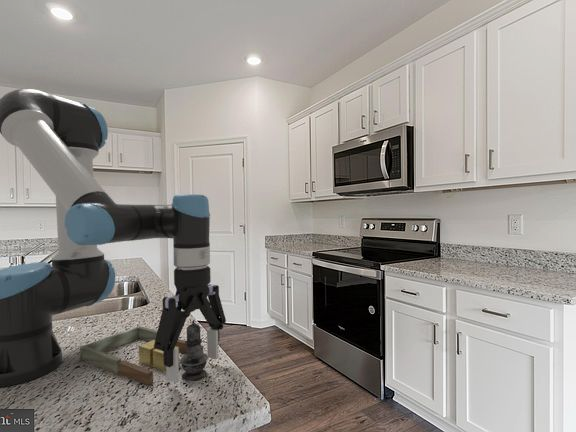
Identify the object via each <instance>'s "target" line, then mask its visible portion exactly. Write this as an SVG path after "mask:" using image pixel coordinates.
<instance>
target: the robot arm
mask: <svg viewBox="0 0 576 432" xmlns="http://www.w3.org/2000/svg"><path fill="white" fill-rule="evenodd" d="M108 129H109V128H108V124H107V120H106V119H105V117H104V116H103V114H102V113H101V112H100V111H99V110H98V109H97V108H94V107H93V106H90V105H87V104H86V103H83V102H81V101H75V100H71V99H68V98H65V97H61V96H58V95H54V94H52V93H47V92H44V91H42V90H38V89H35V88H34V89H33V88H20V89H15V90H12V91H9V92H7V93H6V94H4V95H3V96H2V97H1V98H0V134H1V136H2V137H3V138H4V140H5V141H6V142H8V144H10V145H12V146H15V147H17V148H18V149H19V150H20V151H21V153H22V154H23V156H24V157H25V158H26V159H27V160H28V162H29V163H30V165H32V167H33V168H34V170H35V171H36V172H37V173H38V174H39V176H40V177H41V178H42V180H43V181H44V183H45V184H46V185H47V187H48V188H49V189H50V190H51V192H52V193H53V194H54V195H55V206H56V207H55V208H56V211H55V212H56V227H57V228H56V229H57V247H58V250H57V252H56V254H54V255H53V256H52V257H51V264H50V263H48V262H30V263H23V264H18V265H13V266H10V267H5V268H1V269H0V388H3V387H9V386H14V385H18V384H22V383H26V382H29V381H33V380H35V379H38V378H40V377H43V376H45V375H47V374H49V373H50V372H53V371H54V370H56V369H57V368H58V367H59V366H60V365H61V364H62V363H63V351H62V347H60V344H59V342H58V340H57V337H56V335H55V333H54V330H53V316H56V315H59V314H62V313H66V312H70V311H74V310H77V309H80V308H84V307H90V306H93V305H95V304H97V303H100V302H102V301H104V300H106V299H107V298H108V297H109V295H111V294H112V292H113V290H114V288H115V285H116V272H115V271H116V270H115V267H113V263H112V262H111V261H109V260H108V259H105V253H104V252H103V251H101V250H100V249H99V248H98V246H102V245H106V244H113V243H121V242H130V241H133V242H134V241H143V240H151V239H152V240H153V239H172V241H173V242H172V243H173V266H174V267H176V268H174V270H173V278H174V279H173V284H174V286H175V288H176V289H175V290H176V292H175V295H173V296H170V297H168V296H165V297H163V298H162V310H161V315H160V318H159V319H160V320H159V324H158V327H157V330H156V331H157V335H156V339H155V343H154V348H155V349H158V350H161V351H163V356H164V366H166V371H165V372H166V374H165V375H166V380H167V381H170V382H172V383H175V384H177V383H179V381H180V377H179V376H180V373H179V370H180V369H179V365H180V363H179V364H178V349H177V348H175V346H176V343H177V341H178V339H180V336H181V333H182V331H183V328H184V326H185V323H186V321H187V320H188V319H187V318H188V317H190V316H191V313H192V312H194V311H196V310H199V311H200V313H201V314H202V317H203V318H204V319H205V321H206V323H207V325H208V327H209V328H207V329H206V343H207V344H206V349H207V351H206V352H207V353H206V355H207V356H208V359H213V360H218V359H219V342H220V330H223V329H224V324H226V323H227V320H226V315H225V312H224V309H223V304H222V300H221V296H220V287H219V285H218V284H210V283H211V279H212V278H211V267H210V266H209V265H210V264H211V249H210V248H211V247H210V246H211V245H210V220H211V213H210V203H209V198H208V197H207V196H206V195H204V194H191V193H190V194H187V193H186V194H175V195H173V197H172V202H171V204H122V203H121V204H120V203H116V202H115V201H114V200H113V199H112V197H111V196H109V194H108V193H107V192H106V191H105V189H103V187H102V186H101V184H99V182H98V181H97V180H96V179H95V178H94V165H93V164H94V162H93V160H94V159H95V158H96V157H98V156H99V151H100V149H102V148H103V147H104V146H105V145H106V144H107V143H106V141H107V140H108V135H109V130H108ZM182 310H183V311H182ZM169 342H170V344H169Z"/></svg>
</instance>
